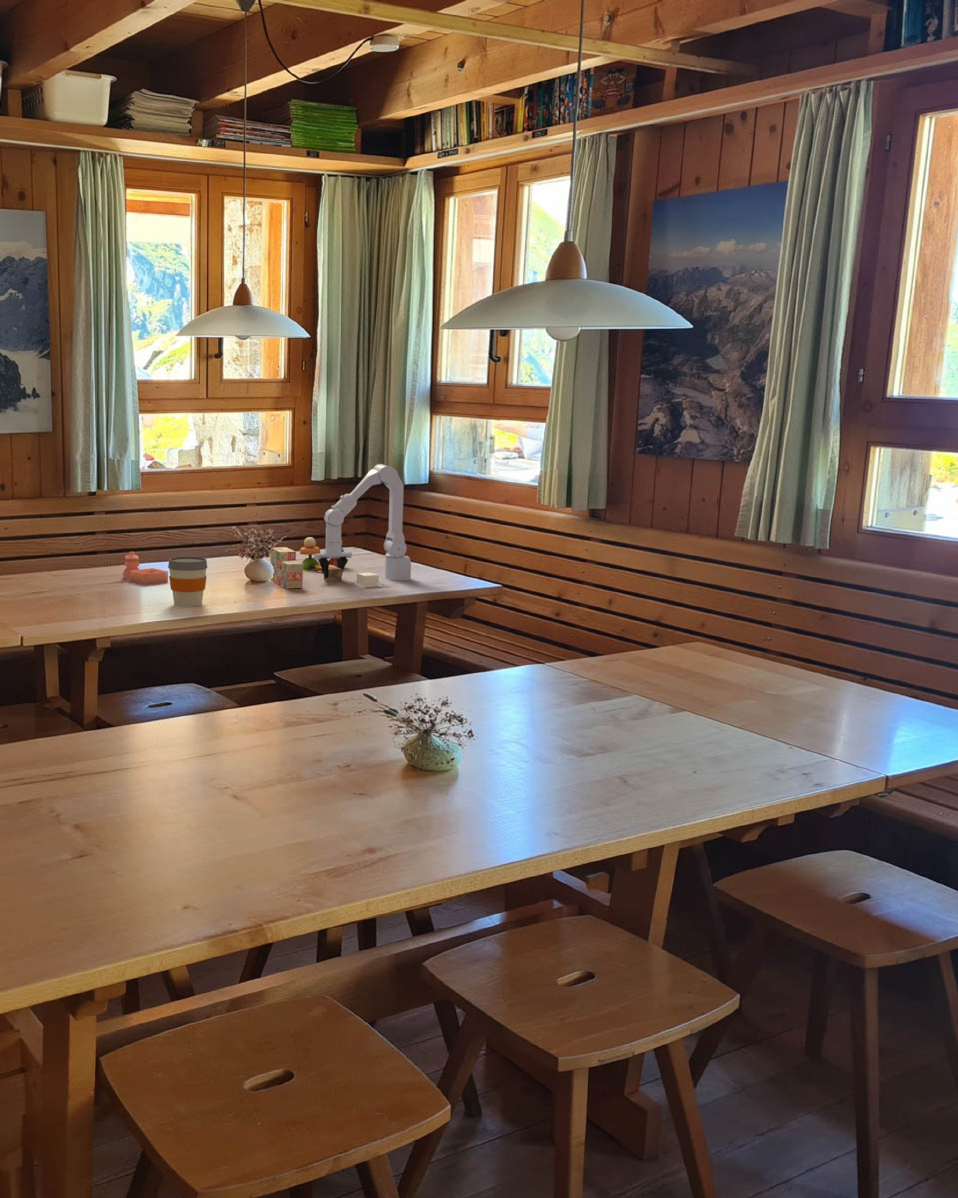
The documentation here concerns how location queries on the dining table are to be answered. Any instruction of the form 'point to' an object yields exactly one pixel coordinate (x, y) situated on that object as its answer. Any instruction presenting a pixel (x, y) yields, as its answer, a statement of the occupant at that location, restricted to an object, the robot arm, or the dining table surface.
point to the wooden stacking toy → (311, 550)
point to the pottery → (143, 572)
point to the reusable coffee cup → (187, 580)
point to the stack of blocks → (286, 568)
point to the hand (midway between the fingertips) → (332, 577)
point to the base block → (367, 579)
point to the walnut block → (334, 574)
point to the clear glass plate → (367, 586)
